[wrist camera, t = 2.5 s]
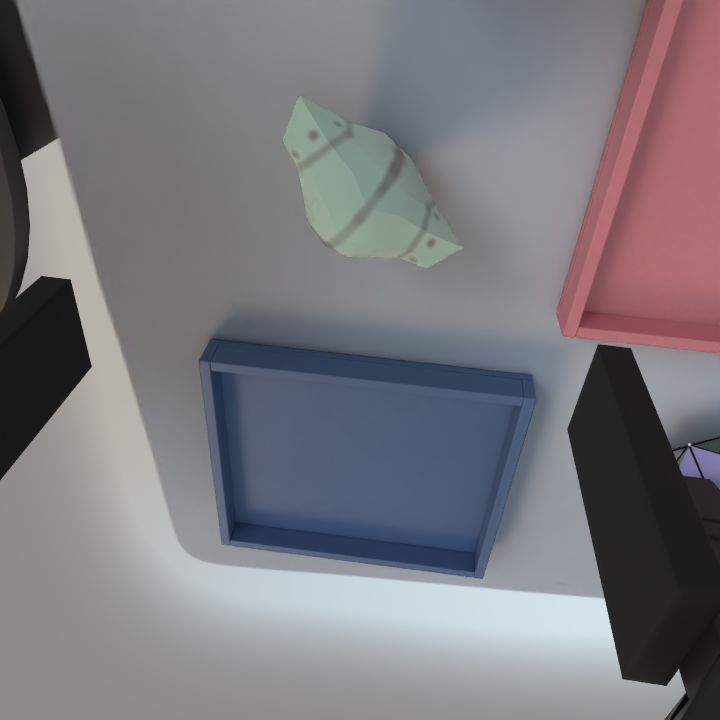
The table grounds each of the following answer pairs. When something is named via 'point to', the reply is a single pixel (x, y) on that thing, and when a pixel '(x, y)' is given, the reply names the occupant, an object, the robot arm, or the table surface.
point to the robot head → (364, 190)
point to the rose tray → (656, 195)
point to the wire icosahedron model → (700, 462)
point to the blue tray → (362, 455)
